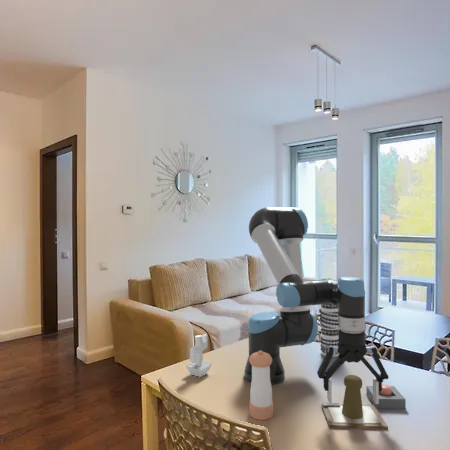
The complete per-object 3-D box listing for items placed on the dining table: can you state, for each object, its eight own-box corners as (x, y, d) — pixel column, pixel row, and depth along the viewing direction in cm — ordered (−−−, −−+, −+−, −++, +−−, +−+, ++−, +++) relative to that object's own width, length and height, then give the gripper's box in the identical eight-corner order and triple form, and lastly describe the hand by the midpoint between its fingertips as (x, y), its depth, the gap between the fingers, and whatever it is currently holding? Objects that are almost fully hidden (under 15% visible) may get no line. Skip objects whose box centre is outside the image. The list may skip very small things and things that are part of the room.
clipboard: (329, 427, 103) (329, 422, 103) (321, 406, 115) (321, 402, 115) (388, 429, 102) (388, 424, 102) (373, 407, 114) (373, 403, 114)
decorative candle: (329, 358, 155) (328, 299, 155) (315, 351, 163) (314, 296, 163) (346, 355, 158) (345, 297, 158) (331, 348, 167) (331, 294, 167)
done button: (381, 397, 116) (381, 389, 116) (377, 391, 119) (376, 384, 119) (393, 397, 115) (393, 389, 115) (389, 391, 119) (388, 384, 119)
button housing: (375, 408, 113) (375, 398, 113) (366, 394, 122) (366, 385, 122) (405, 408, 113) (405, 399, 113) (394, 395, 122) (394, 386, 122)
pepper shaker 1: (271, 407, 115) (270, 346, 115) (275, 419, 108) (274, 354, 107) (248, 407, 115) (247, 347, 115) (250, 420, 107) (249, 355, 107)
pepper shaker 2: (364, 420, 105) (365, 381, 105) (342, 417, 106) (343, 379, 106) (361, 409, 111) (362, 373, 111) (340, 407, 112) (341, 371, 112)
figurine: (184, 376, 139) (183, 337, 138) (199, 368, 147) (198, 331, 146) (199, 381, 135) (198, 340, 135) (213, 372, 143) (213, 333, 143)
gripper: (311, 333, 105) (312, 406, 105) (400, 334, 104) (400, 408, 104) (307, 326, 113) (308, 394, 113) (389, 326, 111) (390, 396, 111)
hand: (352, 401), depth 108 cm, fingers open, 13 cm apart
